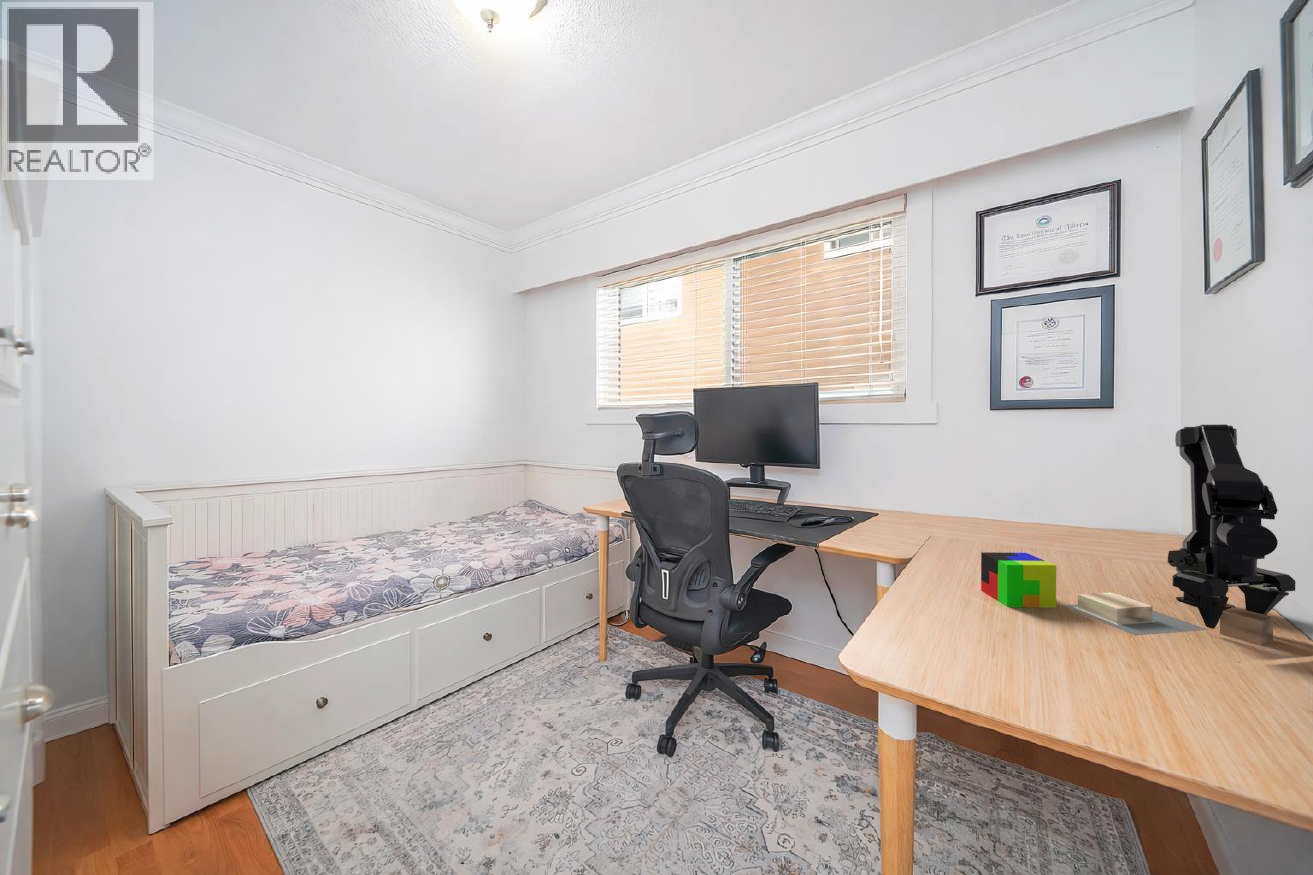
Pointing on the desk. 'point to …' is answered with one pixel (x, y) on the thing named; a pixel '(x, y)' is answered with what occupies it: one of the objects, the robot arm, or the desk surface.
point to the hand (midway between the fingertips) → (1231, 626)
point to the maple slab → (1115, 607)
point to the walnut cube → (1246, 626)
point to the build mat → (1146, 623)
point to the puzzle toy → (1018, 579)
